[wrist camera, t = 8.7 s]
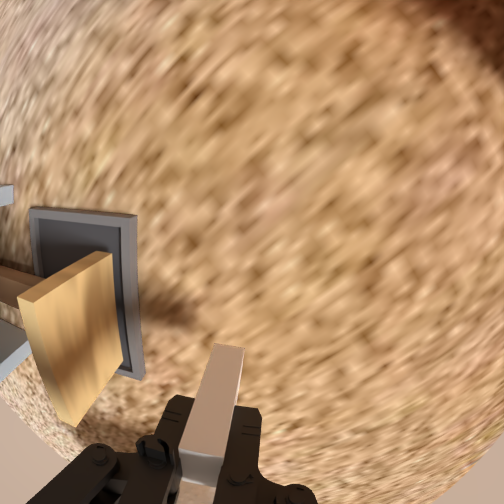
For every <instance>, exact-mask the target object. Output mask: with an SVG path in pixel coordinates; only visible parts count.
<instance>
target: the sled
mask: <svg viewBox="0 0 504 504" xmlns="http://www.w3.org/2000/svg"><path fill="white" fill-rule="evenodd" d="M0 301H1V302H4V303H6V304H8V305H10V306H13V307H15V308H17V309H20V312H21V316H22V320H23V324H24V328H25V331H26V335H27V338H28V341H29V344H30V348H31V351H32V354H33V357H34V359H35V362H36V365H37V368H38V370H39V373H40V376H41V378H42V381H43V383H44V386H45V388H46V391H47V393H48V395H49V398H50V400H51V402H52V404H53V406H54V409H55V411H56V413H57V415H58V417H59V419H60V420H61V421H63V422H65V423H67V424H69V425H71V426H73V427H77V425H78V424H79V422H80V421H81V419H82V418H83V416H84V415H85V414H86V412H87V411H88V409H89V408H90V406H91V405H92V404H93V402H94V401H95V399H96V398H97V396H98V395H99V394H100V392H101V391H102V389H103V388H104V387H105V385H106V384H107V382H108V381H109V380H110V378H111V377H112V375H113V374H114V373H115V371H116V370H117V369H118V367H119V366H120V364H121V363H122V362H123V356H122V350H121V343H120V336H119V329H118V321H117V312H116V303H115V292H114V279H113V262H112V253H106V252H100V251H95V252H93V253H91V254H89V255H88V256H86V257H84V258H82V259H80V260H78V261H77V262H75V263H73V264H71V265H69V266H68V267H66V268H64V269H62V270H61V271H59V272H57V273H55V274H54V275H52V276H50V277H49V278H47V279H45V278H41V277H38V276H34V275H31V274H28V273H24V272H21V271H18V270H14V269H11V268H8V267H5V266H2V265H0Z"/></svg>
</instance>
